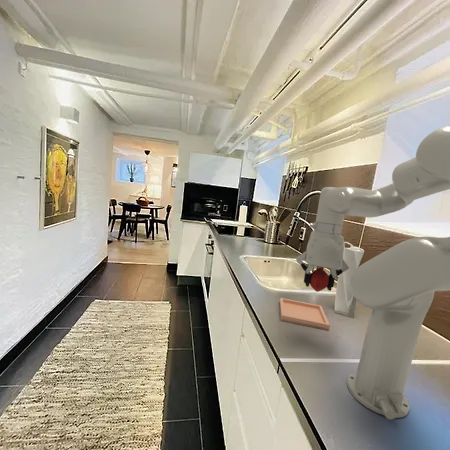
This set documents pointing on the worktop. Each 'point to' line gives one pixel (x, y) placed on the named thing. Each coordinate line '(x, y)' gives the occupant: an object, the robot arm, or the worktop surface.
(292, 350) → the worktop surface
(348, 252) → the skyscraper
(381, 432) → the worktop surface
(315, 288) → the red round fruit
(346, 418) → the worktop surface
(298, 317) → the dish
